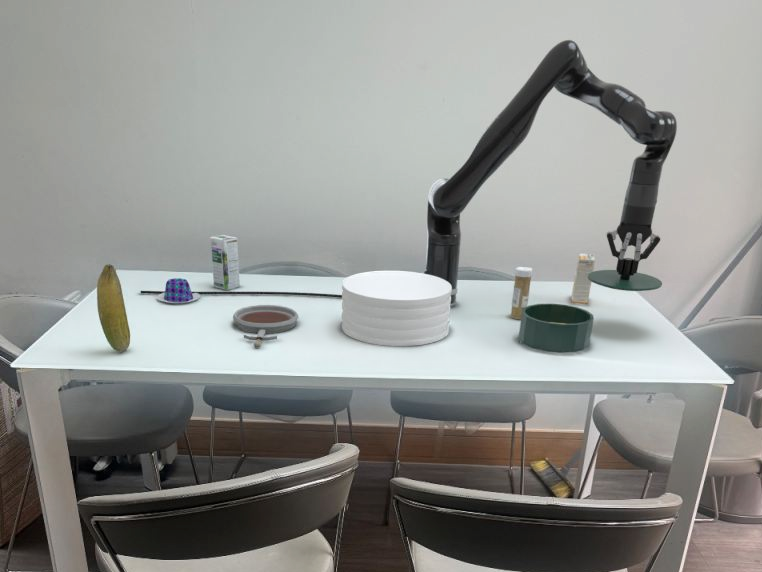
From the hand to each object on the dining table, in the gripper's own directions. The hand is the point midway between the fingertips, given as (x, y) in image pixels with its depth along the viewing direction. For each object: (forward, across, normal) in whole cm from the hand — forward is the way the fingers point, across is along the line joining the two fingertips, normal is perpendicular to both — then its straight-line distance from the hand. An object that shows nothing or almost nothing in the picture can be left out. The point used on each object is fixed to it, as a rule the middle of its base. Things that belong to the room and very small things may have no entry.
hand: (625, 274), depth 196 cm
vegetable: (+16, +116, +52) cm, 128 cm away
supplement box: (+15, +9, -27) cm, 33 cm away
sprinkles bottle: (+16, +26, -5) cm, 31 cm away
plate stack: (+16, +57, +15) cm, 61 cm away
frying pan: (+16, +89, +27) cm, 94 cm away
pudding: (+16, +121, +8) cm, 122 cm away
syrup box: (+16, +113, -8) cm, 114 cm away
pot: (+15, +16, +14) cm, 26 cm away
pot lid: (+2, 0, 0) cm, 2 cm away
